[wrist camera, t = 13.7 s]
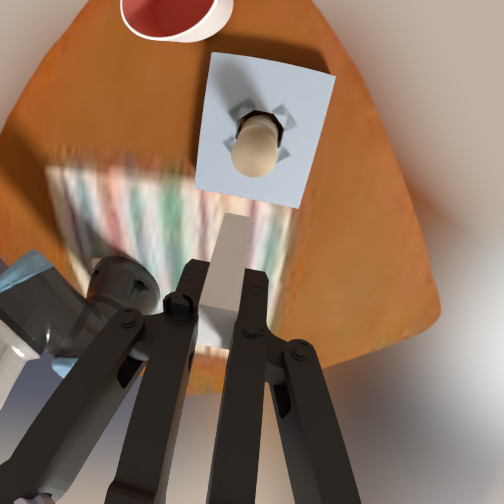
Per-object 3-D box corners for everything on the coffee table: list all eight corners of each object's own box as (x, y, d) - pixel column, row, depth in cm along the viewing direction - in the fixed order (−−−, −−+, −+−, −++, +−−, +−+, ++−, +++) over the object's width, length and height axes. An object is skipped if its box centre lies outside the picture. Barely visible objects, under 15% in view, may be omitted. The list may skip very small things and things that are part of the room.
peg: (241, 138, 37) (226, 173, 27) (247, 107, 34) (233, 130, 25) (274, 145, 37) (272, 182, 28) (281, 114, 34) (282, 139, 25)
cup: (230, 43, 29) (214, 39, 21) (153, 44, 29) (116, 45, 21) (239, -25, 23) (225, -50, 15) (160, -22, 23) (125, -39, 15)
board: (200, 177, 41) (194, 188, 38) (218, 52, 30) (211, 52, 27) (297, 196, 41) (298, 208, 39) (330, 74, 30) (335, 76, 27)
